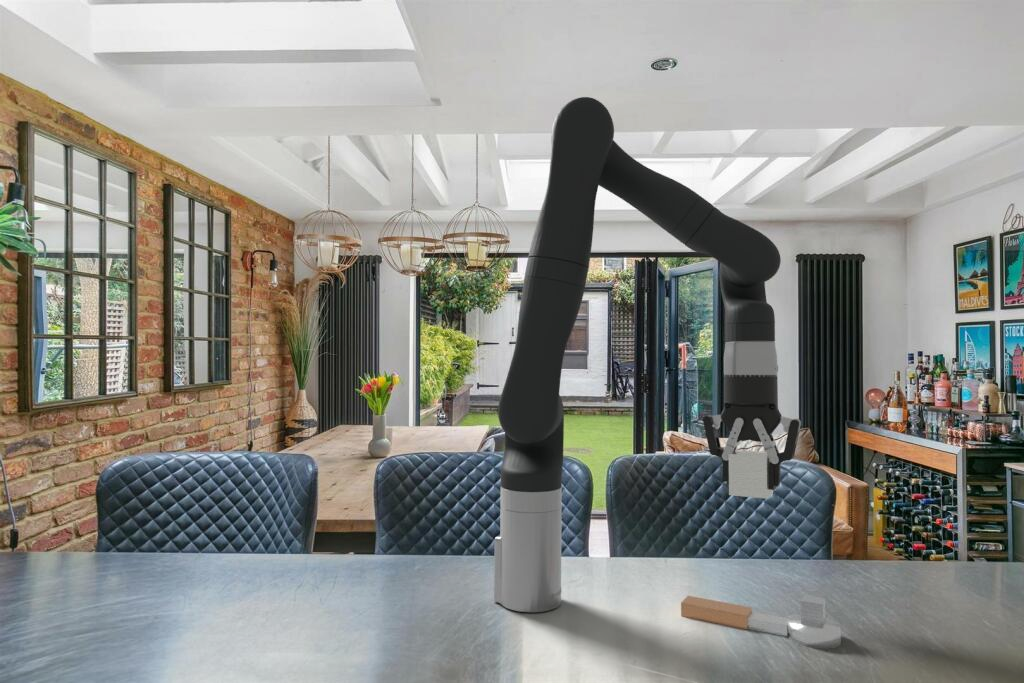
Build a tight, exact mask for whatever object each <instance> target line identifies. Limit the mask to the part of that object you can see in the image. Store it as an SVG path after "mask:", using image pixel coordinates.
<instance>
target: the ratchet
mask: <svg viewBox="0 0 1024 683" xmlns="http://www.w3.org/2000/svg"><path fill="white" fill-rule="evenodd" d="M680 616H681V617H684V618H687V619H688V618H689V619H693V620H698V621H704V622H707V623H713V624H717V625H723V626H727V627H731V628H738V629H742V630H745V631H746V630H752V631H756V632H757V631H758V632H762V633H767V634H770V635H771V634H772V635H777V636H782V637H787V638H788V639H789V640H791V641H792V642H794V643H796V644H798V645H801V646H805V647H809V648H812V649H822V650H827V649H829V650H830V649H836V648H838V647H840V646H841V644H842V630H841V629H842V627H841V625H840V623H839V622H837V621H835V620H834V619H831V618H829V617H826V598H823V597H818V596H812V595H806V594H803V595H802V598H801V601H800V613H794V614H791V615H789V616H787V617H783V616H776V615H772V614H767V613H762V612H756V611H753V607H750V606H744V605H739V604H734V603H728V602H724V601H717V600H714V599H708V598H702V597H697V596H692V595H687V596H686V597H685V598H684V599H683V600H682V601H681V603H680Z"/></svg>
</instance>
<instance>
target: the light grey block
mask: <svg viewBox="0 0 1024 683" xmlns="http://www.w3.org/2000/svg"><path fill="white" fill-rule="evenodd" d="M769 464H770V459H769V457H768V455H767V452H766V451H757V450H756V451H755V450H741V449H740V450H739V449H736V451H735V452H734V451H733V453H729V486H728V496H734V497H735V496H736V497H746V498H755V499H769V497H771V495H773V493H774V490H769Z"/></svg>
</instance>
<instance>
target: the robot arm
mask: <svg viewBox="0 0 1024 683" xmlns="http://www.w3.org/2000/svg"><path fill="white" fill-rule="evenodd" d="M614 136H615V124H614V121H613V118H612V115H611V114H610V111H609V110H608V108H607V107H606V106H605V105H604V104H603V103H602V102H601V101H600V100H598V99H596V98H594V97H588V96H581V97H577V98H574V99H572V100H570V101H569V102H567V103H566V104H564V106H563V107H562V108H560V110H559V111H558V113H557V114H556V116H555V118H554V120H553V123H552V127H551V152H550V161H549V164H550V165H549V172H548V179H547V180H548V181H547V187H546V191H545V195H544V199H543V202H542V204H541V207H540V212H539V214H538V217H537V222H536V225H535V227H534V233H533V236H532V241H531V244H530V248H529V252H528V258H527V262H526V267H525V273H524V277H523V283H522V284H523V286H522V290H521V291H522V292H521V297H520V298H521V299H520V306H519V312H518V322H517V330H516V341H515V346H514V350H513V355H512V358H511V361H510V365H509V368H508V372H507V376H506V379H505V383H504V386H503V389H502V392H501V395H500V399H499V402H498V405H497V415H498V416H497V417H498V421H499V424H500V427H501V429H502V430H503V432H504V453H503V457H502V458H503V460H502V465H501V468H500V501H499V503H500V504H499V505H500V508H499V510H500V517H499V518H500V520H499V521H500V522H499V524H500V527H499V528H500V532H499V533H500V535H497V536H496V537H495V538H494V554H493V555H494V558H493V559H494V562H493V564H494V569H493V571H494V572H493V573H494V574H493V575H494V578H493V579H494V581H493V583H494V584H493V585H494V586H493V589H494V590H493V601H494V603H499V604H500V605H501V606H503V607H504V608H505V609H509V610H512V611H516V612H520V613H521V612H522V613H542V612H548V611H552V610H554V609H556V608H558V607H560V605H561V604H562V510H563V509H562V500H563V498H562V497H563V496H562V486H563V485H562V484H563V482H562V478H563V468H564V439H565V438H564V437H565V436H564V434H565V432H564V431H565V430H564V426H565V424H564V423H565V421H564V420H565V413H564V412H565V411H564V410H565V408H564V402H563V400H562V397H561V395H560V390H561V388H560V387H561V379H562V378H561V377H562V370H563V363H564V358H565V357H564V356H565V352H566V348H567V344H568V343H569V339H570V337H571V334H572V332H573V329H574V327H575V324H576V321H577V318H578V315H579V312H580V309H581V305H582V301H583V298H584V294H585V290H586V289H585V288H586V284H587V278H588V273H589V267H590V262H591V252H592V245H593V236H594V227H595V226H594V223H595V222H594V221H595V211H596V210H595V209H596V200H597V194H598V188H599V187H601V188H603V189H605V190H606V191H608V192H610V193H611V194H613V195H615V196H616V197H618V198H620V199H621V200H622V201H624V202H626V203H627V204H628V205H630V206H632V207H633V208H635V209H636V210H638V211H639V212H640V213H642V214H643V215H644V216H645V217H646V218H648V219H649V220H651V221H653V222H654V223H655V224H657V226H658V227H660V228H662V229H663V230H664V231H666V232H667V233H668V234H669V235H671V236H672V237H673V238H675V239H677V240H678V241H679V242H680V243H681V244H683V245H684V246H685V247H687V248H688V249H690V250H692V251H693V252H695V253H699V254H707V255H709V256H710V257H712V258H713V259H715V260H716V261H718V262H719V271H718V272H719V274H718V276H719V283H720V284H719V285H720V291H721V296H722V301H723V302H722V303H723V306H724V310H725V317H724V318H725V320H724V324H725V325H724V337H725V339H724V341H725V342H724V343H725V344H724V353H723V409H722V411H721V414H714V415H712V414H711V415H710V414H709V415H706V416H704V417H702V422H703V427H704V431H705V436H706V440H707V445H708V450H709V453H710V455H711V456H715V457H718V458H720V459H721V462H722V479H723V482H726V485H727V486H728V487H729V453H733V451H734V452H735V451H736V450H738V449H737V448H738V446H739V445H740V442H746V441H751V442H756V443H757V442H758V443H761V444H762V447H763V449H764V450H765V452H767V455H768V457H769V459H770V464H769V490H773V491H775V490H776V488H777V487H779V486H780V485H781V482H782V478H781V476H782V475H781V474H782V472H781V471H782V470H781V469H782V468H781V467H782V466H781V464H782V463H783V462H787V461H788V462H790V461H791V460H792V459H793V458H794V457H795V454H796V450H797V449H796V448H797V445H798V439H799V435H800V431H801V427H802V421H801V420H800V419H799V418H792V417H791V418H790V417H786V416H782V414H781V412H780V409H779V401H778V400H779V399H778V398H779V396H778V387H779V386H778V371H779V365H778V356H777V355H778V354H777V348H776V325H775V324H776V318H775V310H774V308H773V306H772V305H771V304H770V303H768V302H767V294H766V282H767V281H769V280H770V279H772V278H774V276H776V274H777V273H778V271H779V269H780V266H781V254H780V251H779V249H778V247H777V245H776V244H775V243H774V242H773V241H772V240H771V239H770V238H768V236H766V235H765V234H763V233H762V232H760V231H759V230H756V229H755V228H754V227H751V226H750V225H747V224H746V223H743V222H742V221H739V219H735V218H733V217H730V216H729V215H726V214H725V213H723V212H722V211H721V210H720V209H718V208H717V207H716V206H715V205H713V204H712V203H710V202H709V200H707V199H705V198H704V197H702V196H701V195H700V194H698V193H697V192H696V191H694V190H692V189H691V188H690V187H688V186H686V185H684V184H683V183H681V182H679V181H677V180H674V178H671V177H669V176H667V175H664V174H662V173H659V172H657V171H655V170H653V169H651V168H649V167H647V166H645V165H644V164H642V163H640V162H639V161H638V160H636V159H634V157H632V156H631V155H630V154H628V153H627V152H626V151H625V150H624V149H623V148H621V146H619V144H618V143H617V142H616V141H615V140H614V138H615V137H614ZM721 422H722V423H723V424H724V425H725V426H726V428H727V430H728V431H729V435H728V438H727V441H726V442H725V447H722V446H721V445H722V444H721V442H720V436H719V433H718V430H719V428H720V427H721ZM780 424H781V425H782V426H783V429H782V430H783V431H784V432H785V433H787V435H786V441H785V446H784V449H783V451H782V452H780V451H779V449H778V447H777V442H776V440H775V438H774V435H773V433H774V432H775V430H776V429H777V427H778V426H779V425H780Z"/></svg>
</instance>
